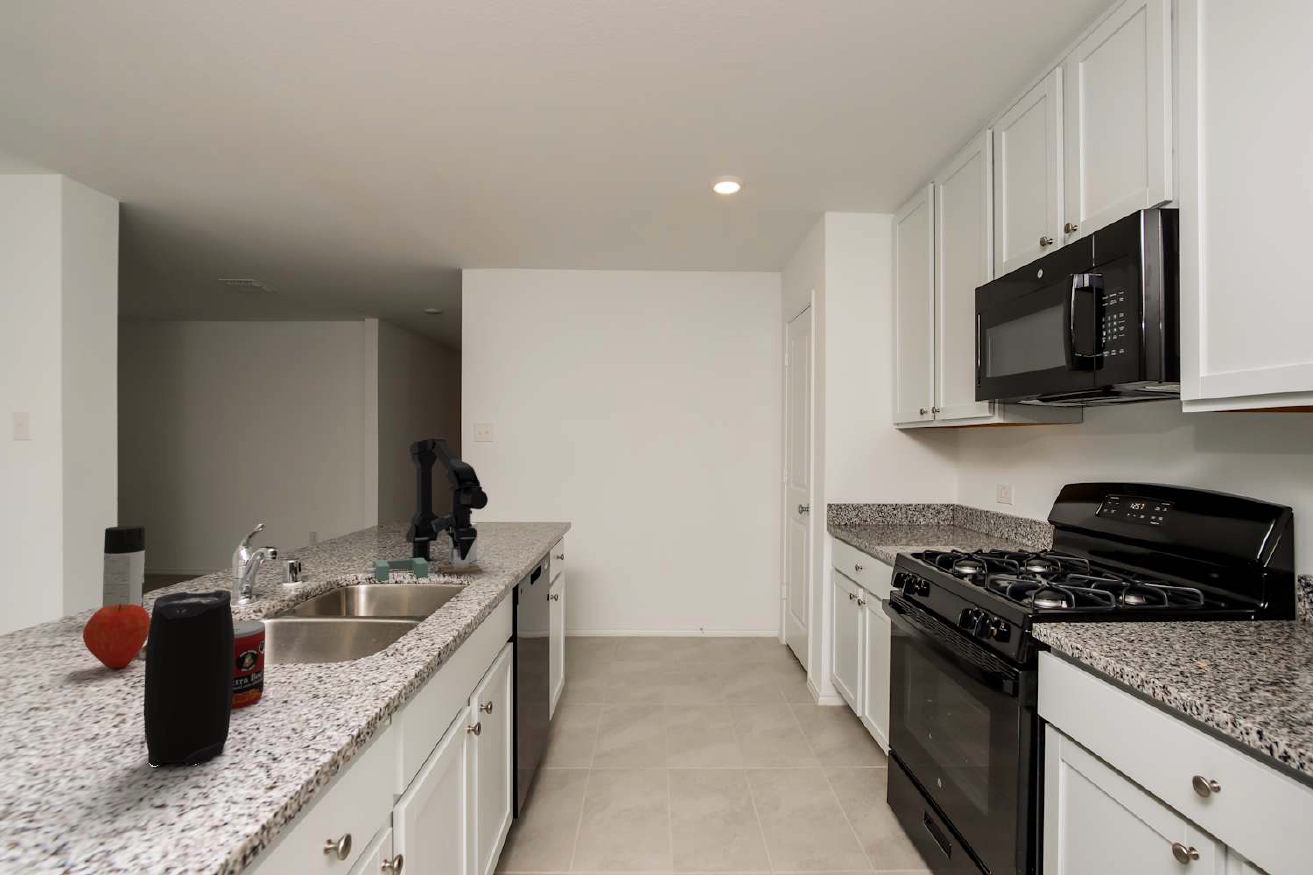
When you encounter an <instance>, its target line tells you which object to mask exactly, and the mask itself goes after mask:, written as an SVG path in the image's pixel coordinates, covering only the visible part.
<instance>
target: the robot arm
mask: <svg viewBox="0 0 1313 875" xmlns="http://www.w3.org/2000/svg"><path fill="white" fill-rule="evenodd" d="M409 453H410V459H411V462H412V463H413V464H414V466H415V467H416V511H415V513H414V515H413V516H412V519H411V524H410V526H409V529H408V531H407V532H406V534H405V541H406V542H407V543H410V544H411V548H412V549H411V556H410V557H409V559H412V558H424V559H425V560H426V562H428V561H433V557H431V542H433V541H434V542H437V540H438V537H439V536H438V535H439V533H440V532H441V531H443V530H444V531H445V533H446V535H448V536H450V537H451V539H452V543H453V547H459V550H460V556H461V560H465V559H466V557H467V554H468V552H469V550H470V548H471V546H472V544H473V542H474V540H475V539H476V538H475V537H477V538H478V529H477V530H476V529H475V528H473V527H472V524H471V523H472V522H471V518H472V517H471V516H472V515H473V510H482V509H484V508H485V507H486V506H487V504H488V502H489V501H488V500H489V498H488V495H487V493H486V492H485V491H483V487H482V486H481V482H480V480H479V478H478V476H477V473H476V471H475V468H474V467H473V466H472V465H471V464H469V463H468V462H465V461H463V460H461V459H460V458H459V457H458V456H457V454H456V453H455V452H454V451H453V449H452V448H451V447H450V445H448V443H447V439H446V438H443V437H430V438H427V439H424V440H415V441H414V442H412V444H411V445H410V447H409ZM438 460H439V461H440V463H441V464H442V465H443V467H444V468H445V470H446V478H447V480H448V481H449V483H450V484H451V485H452V486H450V488H449V489H448V491H449V492H451V508H450V509H449V511H448V515H444V516H441V517H439V515H436V514H435V512H434V511H433V466H434V465H435V463H436V461H438Z"/></svg>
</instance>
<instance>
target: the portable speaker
mask: <svg viewBox="0 0 1313 875" xmlns="http://www.w3.org/2000/svg"><path fill="white" fill-rule="evenodd" d="M231 598H232V595H231V591H230V590H225V589H223V590H222V589H218V590H215V591H213V592H200V593H199V592H198V593H197V592H193V593H192V592H191V593H189V592H187V591H181V592H174V593H168V594H163V595H161V596H159V597H156V599H155V600H154V602H153V607H152V612H151V618H150V621H151V622H150V628H149V634H148V637H147V639H146V646H145V665H144V667H145V669H144V693H143V696H144V697H143V719H144V720H143V721H144V741H145V742H146V750H147V753H148V754H147V755H148V756H147V757H148V759H147V760H148V762H149V763H150V764H151V765H153V766H157V765H160V764H161V765H162V763H177V762H179V763H181V762H184V763H185V764H186V765H187V766H188V765H195V764H198V763H201V762H203V763H205V762H204V761H206V762H208V761H210V759H211V760H213V759H214V758H215V757H217V756H218V755H221V754H222V752H223V750H224V747H225V744H226V742H227V740H228V737H229V730H230V723H231V716H232V715H231V714H232V710H233V709H232V708H233V705H232V701H233V689H234V644H235V635H234V627H233V621H234V620H233V613H232V607H231V601H232V600H231ZM231 709H232V710H231ZM207 760H208V761H207ZM148 762H147V763H148ZM201 764H202V763H201ZM161 765H160V766H161Z"/></svg>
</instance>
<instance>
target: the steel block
mask: <svg viewBox="0 0 1313 875" xmlns="http://www.w3.org/2000/svg"><path fill="white" fill-rule="evenodd" d="M450 565H451V567H452V568H453V569H462V568H469V552H468V554H467V557H466V559H465V560H461V556H460V550H459V547H451V563H450Z"/></svg>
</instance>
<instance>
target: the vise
mask: <svg viewBox="0 0 1313 875" xmlns="http://www.w3.org/2000/svg"><path fill="white" fill-rule="evenodd" d="M389 569H412V570H413V571H414V573H415V575H416V576H415V575H414V576H415V577H416V578H417V579H418V578H419V579H421V578H427V577H426V576H428V573H429V562H428V561H426V560H425V559H424V558H412V559H410V558H405V559H404V558H403V559H402V558H401V559H390V560H389V559H387V560H386V559H381V560H374V561H373V562H372V567H370V568H369V567H368V568H366V569H365V572H366V573H365V574H366V575H372V574H373V575H374V573H375V575H374V576H376V577H375V579H376V581H377V582H381V581H389V580H390V571H389ZM412 570H411V571H412ZM414 573H413V574H414ZM428 577H429V576H428Z"/></svg>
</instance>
